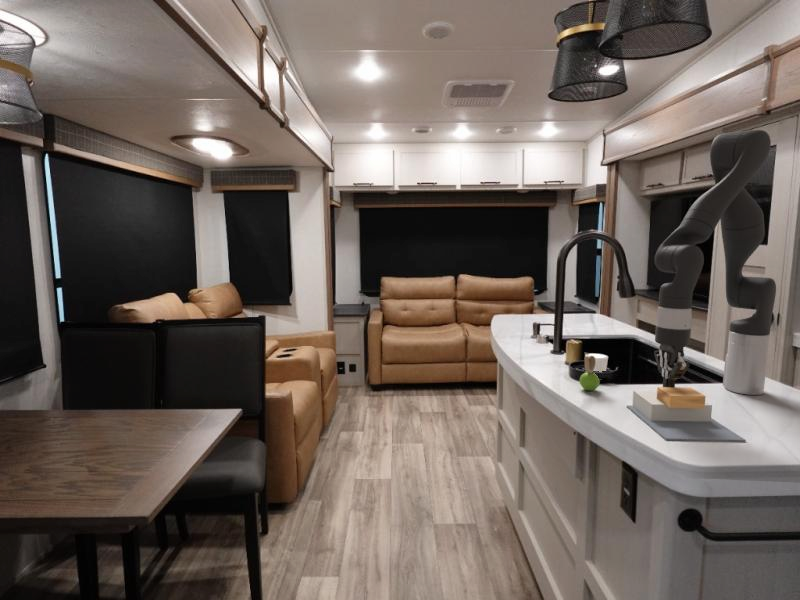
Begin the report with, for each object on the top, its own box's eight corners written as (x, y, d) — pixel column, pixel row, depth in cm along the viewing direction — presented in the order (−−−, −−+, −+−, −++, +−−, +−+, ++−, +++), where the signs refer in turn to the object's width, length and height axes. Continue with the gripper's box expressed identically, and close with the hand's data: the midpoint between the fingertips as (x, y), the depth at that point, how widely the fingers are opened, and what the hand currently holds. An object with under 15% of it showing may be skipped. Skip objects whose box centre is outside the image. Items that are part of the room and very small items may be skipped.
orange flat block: (656, 398, 113) (657, 387, 112) (689, 399, 112) (690, 387, 112) (669, 407, 107) (670, 395, 106) (704, 408, 107) (705, 396, 106)
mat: (626, 406, 120) (626, 405, 120) (693, 407, 119) (693, 406, 119) (665, 440, 100) (665, 438, 100) (745, 441, 99) (745, 440, 99)
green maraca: (574, 391, 133) (576, 351, 131) (583, 385, 137) (585, 347, 136) (593, 395, 129) (595, 354, 127) (601, 389, 134) (603, 350, 132)
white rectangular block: (632, 407, 120) (633, 390, 119) (687, 407, 119) (688, 391, 118) (650, 422, 110) (651, 404, 109) (710, 423, 109) (712, 405, 108)
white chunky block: (580, 373, 150) (581, 353, 149) (600, 373, 150) (601, 352, 149) (590, 380, 143) (591, 358, 142) (611, 379, 143) (612, 357, 142)
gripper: (704, 330, 105) (698, 401, 108) (675, 320, 118) (670, 384, 121) (671, 330, 106) (666, 401, 108) (645, 320, 119) (641, 383, 121)
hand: (668, 392), depth 114 cm, fingers closed
